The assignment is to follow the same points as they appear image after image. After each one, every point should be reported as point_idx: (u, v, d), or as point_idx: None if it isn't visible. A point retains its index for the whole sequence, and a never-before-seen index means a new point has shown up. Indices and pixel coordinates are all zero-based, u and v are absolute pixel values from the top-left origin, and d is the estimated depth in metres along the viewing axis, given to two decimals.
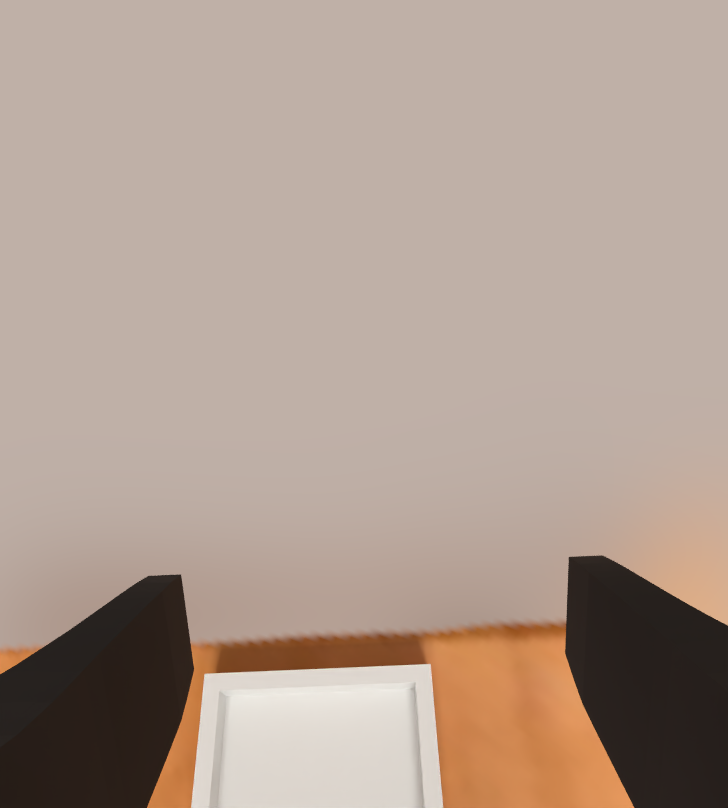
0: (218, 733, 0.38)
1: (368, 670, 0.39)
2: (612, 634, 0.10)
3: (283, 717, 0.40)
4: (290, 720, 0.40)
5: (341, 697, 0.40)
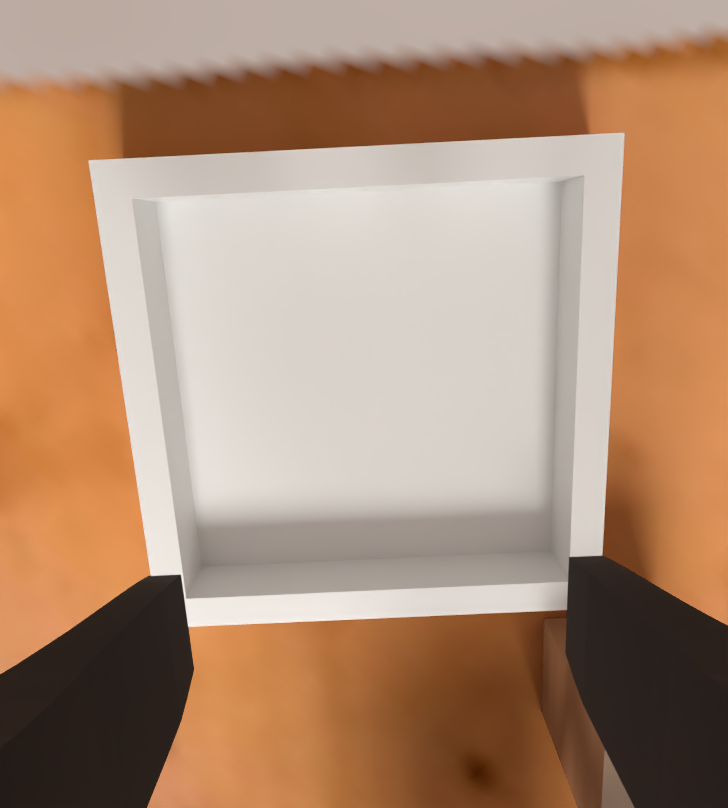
0: (152, 282, 0.18)
1: (476, 149, 0.17)
2: (611, 633, 0.10)
3: (284, 243, 0.19)
4: (298, 247, 0.19)
5: (403, 201, 0.19)
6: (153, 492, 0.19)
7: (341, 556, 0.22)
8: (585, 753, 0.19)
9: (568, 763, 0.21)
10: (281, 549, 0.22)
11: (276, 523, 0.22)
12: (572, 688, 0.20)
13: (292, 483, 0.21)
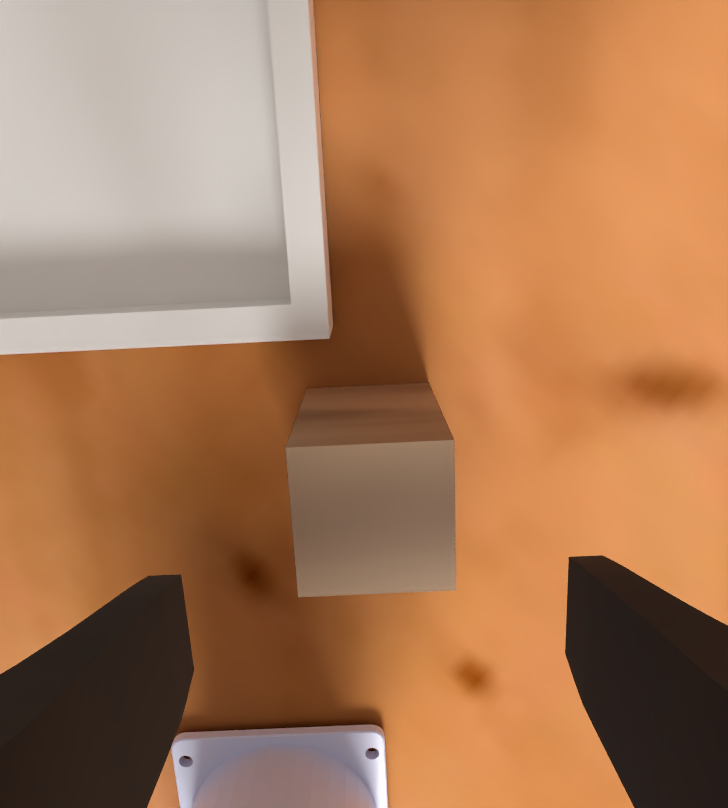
0: None
1: None
2: (612, 634, 0.10)
3: None
4: None
5: None
6: None
7: (66, 304, 0.20)
8: None
9: None
10: None
11: None
12: None
13: (1, 213, 0.19)
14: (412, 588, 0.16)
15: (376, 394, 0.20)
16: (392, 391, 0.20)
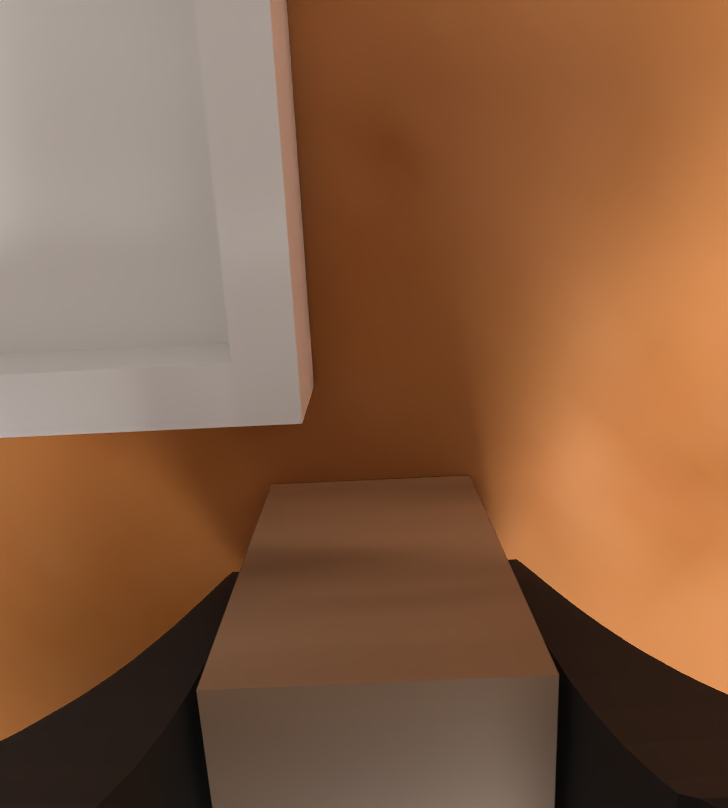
0: None
1: None
2: None
3: None
4: None
5: None
6: None
7: None
8: None
9: None
10: None
11: None
12: None
13: None
14: None
15: (385, 505, 0.12)
16: (413, 498, 0.12)
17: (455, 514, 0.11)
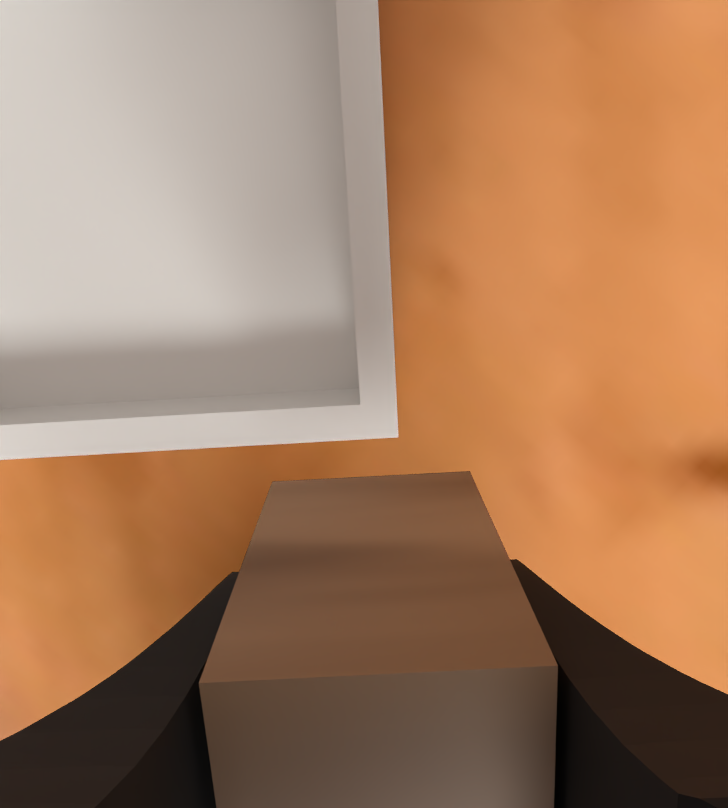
0: None
1: None
2: None
3: (23, 14, 0.17)
4: (40, 19, 0.17)
5: None
6: None
7: (126, 396, 0.19)
8: None
9: None
10: (57, 389, 0.19)
11: (48, 357, 0.19)
12: None
13: (62, 308, 0.19)
14: None
15: (385, 501, 0.12)
16: (413, 494, 0.12)
17: (455, 509, 0.11)
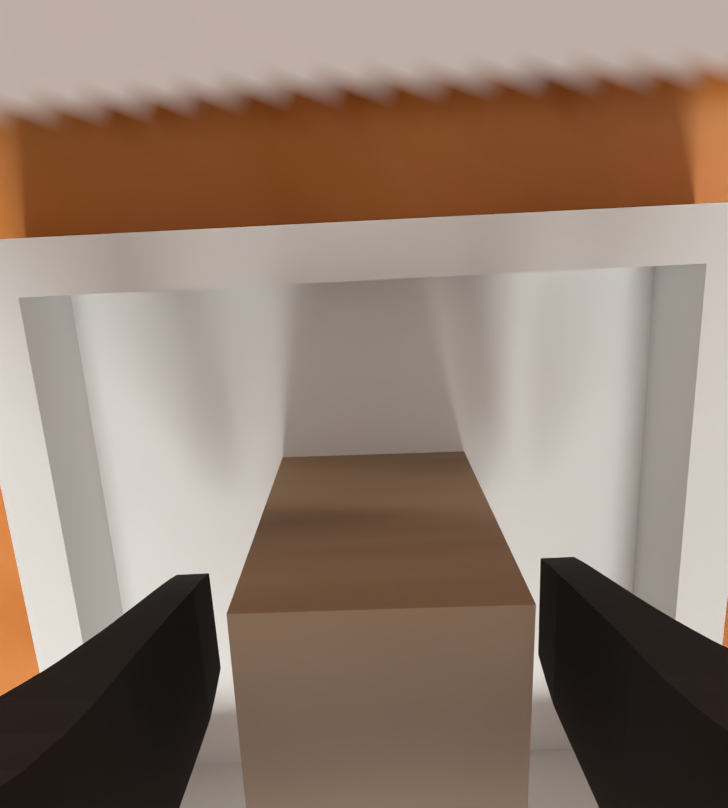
0: (59, 410, 0.12)
1: (543, 225, 0.11)
2: (578, 635, 0.10)
3: (255, 345, 0.13)
4: (276, 351, 0.13)
5: (427, 288, 0.13)
6: None
7: None
8: None
9: None
10: None
11: None
12: None
13: None
14: None
15: (387, 475, 0.13)
16: (412, 469, 0.13)
17: (450, 483, 0.12)
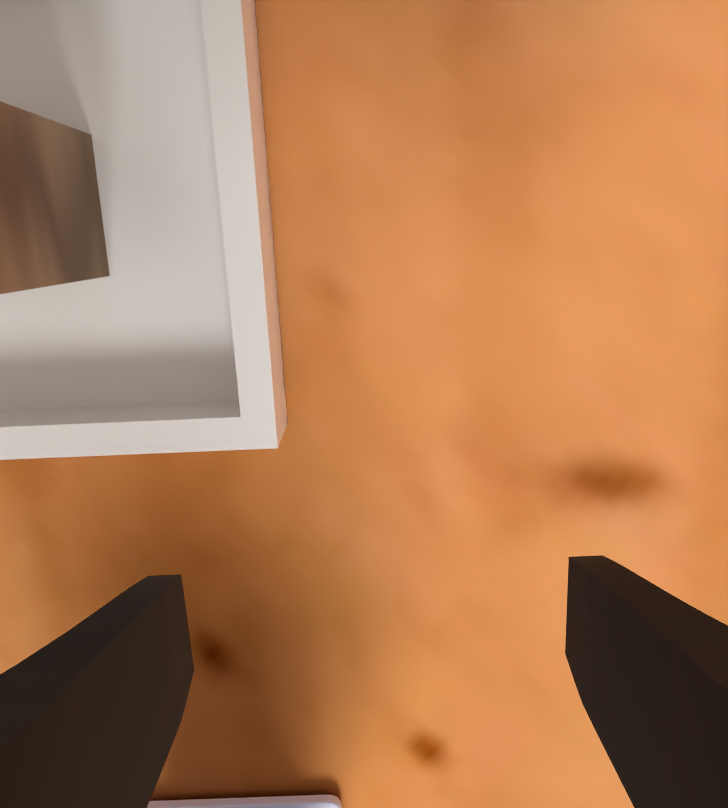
0: None
1: None
2: (612, 634, 0.10)
3: None
4: None
5: None
6: None
7: (28, 404, 0.20)
8: None
9: None
10: None
11: None
12: None
13: None
14: None
15: None
16: None
17: None
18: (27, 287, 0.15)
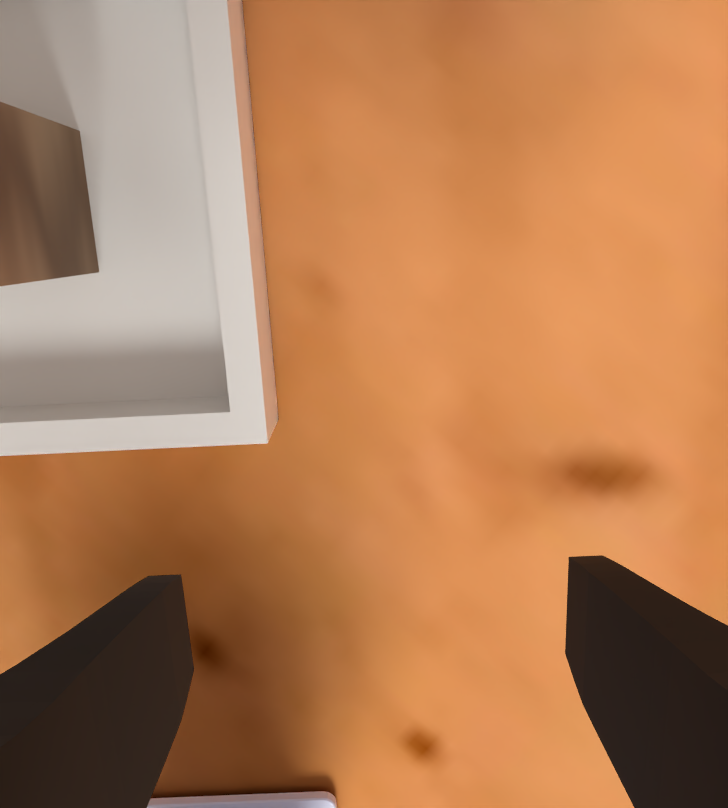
0: None
1: None
2: (612, 634, 0.10)
3: None
4: None
5: None
6: None
7: (19, 401, 0.20)
8: None
9: None
10: None
11: None
12: None
13: None
14: None
15: None
16: None
17: None
18: (13, 282, 0.15)
